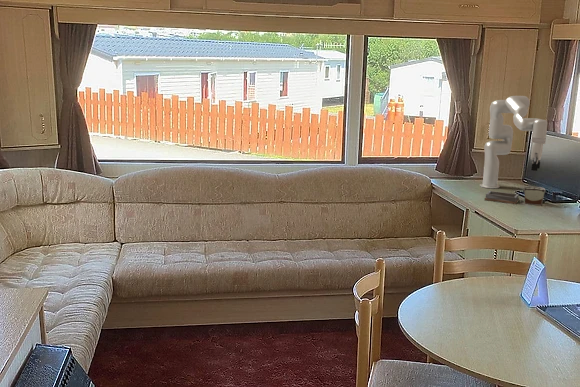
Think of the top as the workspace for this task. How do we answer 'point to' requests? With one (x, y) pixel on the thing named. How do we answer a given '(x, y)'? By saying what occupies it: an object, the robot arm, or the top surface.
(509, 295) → the top surface
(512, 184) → the top surface
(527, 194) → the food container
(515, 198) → the cradle
